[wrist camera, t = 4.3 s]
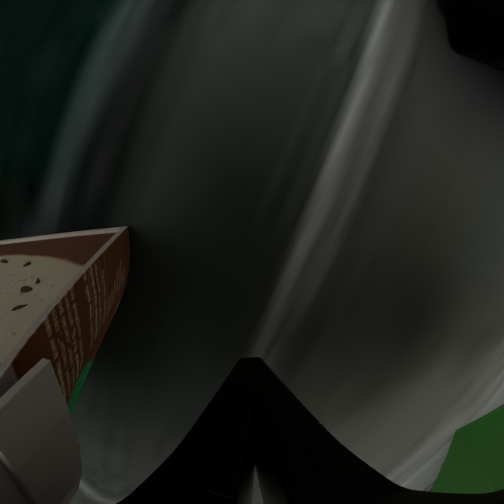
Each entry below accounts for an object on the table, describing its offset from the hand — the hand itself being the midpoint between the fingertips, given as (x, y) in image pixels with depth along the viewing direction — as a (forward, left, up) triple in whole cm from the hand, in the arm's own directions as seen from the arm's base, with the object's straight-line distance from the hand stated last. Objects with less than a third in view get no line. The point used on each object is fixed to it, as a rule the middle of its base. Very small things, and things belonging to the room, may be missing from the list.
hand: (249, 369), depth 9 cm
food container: (+9, 0, -4) cm, 9 cm away
